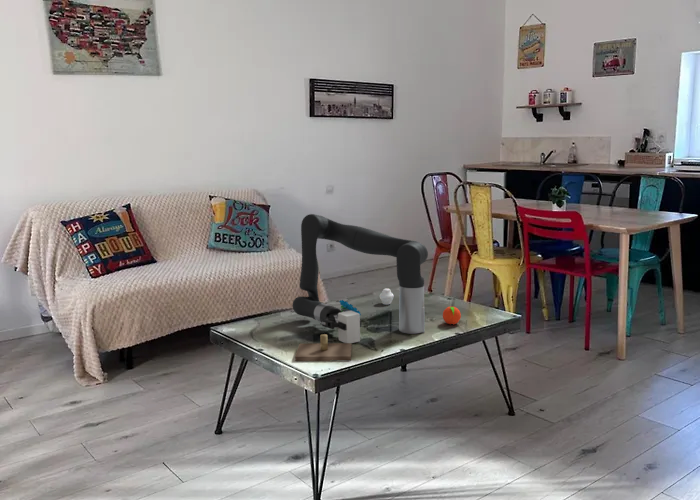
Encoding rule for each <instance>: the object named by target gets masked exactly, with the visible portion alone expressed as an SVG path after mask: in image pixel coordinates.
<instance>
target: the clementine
mask: <svg viewBox="0 0 700 500" xmlns="http://www.w3.org/2000/svg"><path fill="white" fill-rule="evenodd" d="M461 318H462V314H461V311H460V310H459V308H457V307H456V306H453V305H451V306H447V307H446V308H445V309H444V310H443V312H442V319H443V321H444V323H446V324H448V325H451V324H453V325H455V324H458V323H459V322H460V320H461Z"/></svg>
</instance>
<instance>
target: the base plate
mask: <svg viewBox="0 0 700 500" xmlns="http://www.w3.org/2000/svg"><path fill="white" fill-rule="evenodd" d="M319 337H320V342H319V343H318V342H317V343H316V342H315V343H314V342H313V343H299V344H298V347H297V350H296V353H295V357H294V358H295V359H294V360H295V362H331V361H330V360H352V345H353V343H344V342H342V343H339V342H337V343H336V342H335V343H331V342H330V343H329V342H328V341H329V339H328V334H325V333H324V334H323V333H322V334H320V336H319Z"/></svg>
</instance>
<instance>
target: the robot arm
mask: <svg viewBox="0 0 700 500" xmlns="http://www.w3.org/2000/svg"><path fill="white" fill-rule="evenodd" d="M300 234H301V235H300V237H301V271H300V276H299V278H300V279H299V288H300V290H302V291H305V292H306V293H307V295H308V296H297V297H295V298H294V299H293V301H292V306H291V307H292V309H293V311H294V312H295V314H297V315H299V316H302V317H306V318H312V319H313V320H315V321H317V322H318V323H320V324H321V325H322V326H321V327H324V328H327V329H330V330H334V329H339V328H340V329H342V330H344V331H345V330H347V326H346V324H344V323H342V322H340V321H338V313H340V312H341V308H338V307H336V306H333V305H330V304H328V303H324V302H322V301H320V298H319V291H318V285H319V284H318V283H319V282H318V281H319V272H320V271H319V269H320V268H319V267H320V266H319V262H318V255H317V242H318V240H319V239H321V240H327V241H332V242H336V243H340V244H341V245H342V246H344V247H345V248H346V247H347V248H348V249H350V250H354V251H355V252H360V253H362V254H367V255H373V256H375V255H376V256H387V257H388V256H390V257H393V258H395V259H396V277H397V280H398V283H399V284H398V306H399V307H398V317H399V318H398V331H399V332H400V333H403V334H420V333H421V334H422V333H425V332H426V331H425V326H426V325H425V322H426V321H425V318H426V317H425V315H426V314H425V313H426V312H425V311H426V308H425V277H423V276H422V275H421V265H422V264H424V263H425V262H426V261H427V259H428V256H429V251H428V249H427V247H426V246H425V245H424V244H423V243H422V242H420V241H417V240H411V239H404V238H399V237H394V236H391V235H389V234H386V233H382V232H379V231H377V230H372V229H369V228H365V227H363V226H357V225H353V224H352V225H351V224H345V223H344V224H343V223H340V222H337V221H334V220H332V219H329V218H327V217H325V216H323V215H319V214H314V213H310V214H307V215H305V216H304V217H303V218H302V221H301V224H300ZM361 327H362V321H361V320H360V328H361Z"/></svg>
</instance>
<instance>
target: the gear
mask: <svg viewBox="0 0 700 500" xmlns="http://www.w3.org/2000/svg"><path fill="white" fill-rule="evenodd" d="M339 304H340V310H341V312H345V311H350V310H351V311H354V312H356V313H359V314H360V316H361V315H362V314H361V311H360V310H358V308H357V307H354V306H353V304H352V303H349V302H348V301H346V300H343V299H340V300H339Z"/></svg>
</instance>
